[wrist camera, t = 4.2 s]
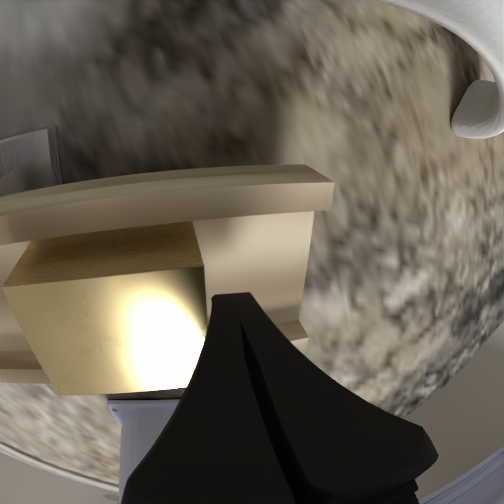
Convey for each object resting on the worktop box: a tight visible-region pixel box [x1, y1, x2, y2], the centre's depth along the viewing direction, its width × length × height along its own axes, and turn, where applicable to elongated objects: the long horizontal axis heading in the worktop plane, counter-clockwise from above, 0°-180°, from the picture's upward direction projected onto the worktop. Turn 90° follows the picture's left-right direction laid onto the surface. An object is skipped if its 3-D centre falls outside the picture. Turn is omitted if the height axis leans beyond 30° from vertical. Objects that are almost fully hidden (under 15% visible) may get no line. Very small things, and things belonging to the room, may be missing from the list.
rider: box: [2, 221, 208, 395], centre depth 10 cm, size 5×6×3 cm
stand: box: [0, 126, 63, 197], centre depth 12 cm, size 12×6×5 cm, turn 178°
